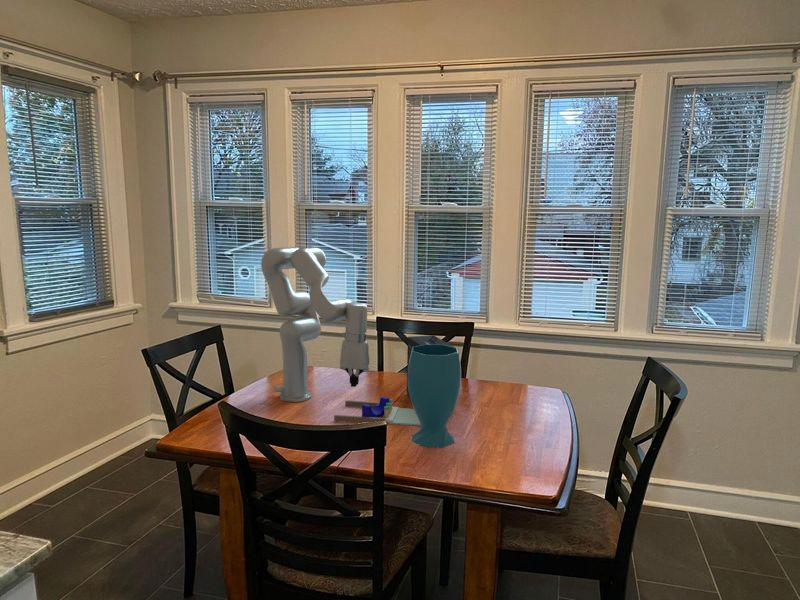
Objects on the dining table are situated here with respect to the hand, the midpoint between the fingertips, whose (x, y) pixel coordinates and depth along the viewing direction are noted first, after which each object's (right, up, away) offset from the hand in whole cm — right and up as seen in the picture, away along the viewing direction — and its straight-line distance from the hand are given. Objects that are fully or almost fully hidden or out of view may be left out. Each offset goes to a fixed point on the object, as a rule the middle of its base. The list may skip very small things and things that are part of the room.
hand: (354, 385), depth 202 cm
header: (+11, -11, -1) cm, 15 cm away
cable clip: (+7, -11, -1) cm, 14 cm away
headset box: (+28, -9, +17) cm, 34 cm away
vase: (+28, -14, -21) cm, 38 cm away
